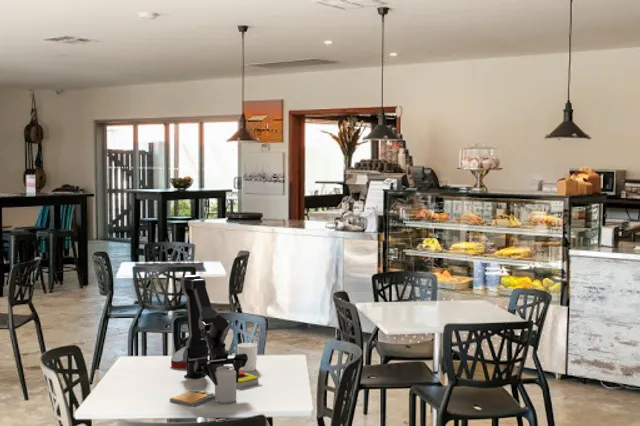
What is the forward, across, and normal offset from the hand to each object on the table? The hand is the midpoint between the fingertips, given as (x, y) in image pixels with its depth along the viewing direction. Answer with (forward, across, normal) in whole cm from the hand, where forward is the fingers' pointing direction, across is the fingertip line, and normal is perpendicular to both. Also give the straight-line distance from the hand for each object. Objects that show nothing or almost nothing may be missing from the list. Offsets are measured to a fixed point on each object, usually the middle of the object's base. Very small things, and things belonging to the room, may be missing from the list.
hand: (226, 383), depth 287 cm
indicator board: (-1, +9, -11) cm, 14 cm away
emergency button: (-9, -13, -19) cm, 25 cm away
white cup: (-22, -22, -32) cm, 44 cm away
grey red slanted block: (-34, -1, -44) cm, 55 cm away
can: (+4, 0, -6) cm, 7 cm away
